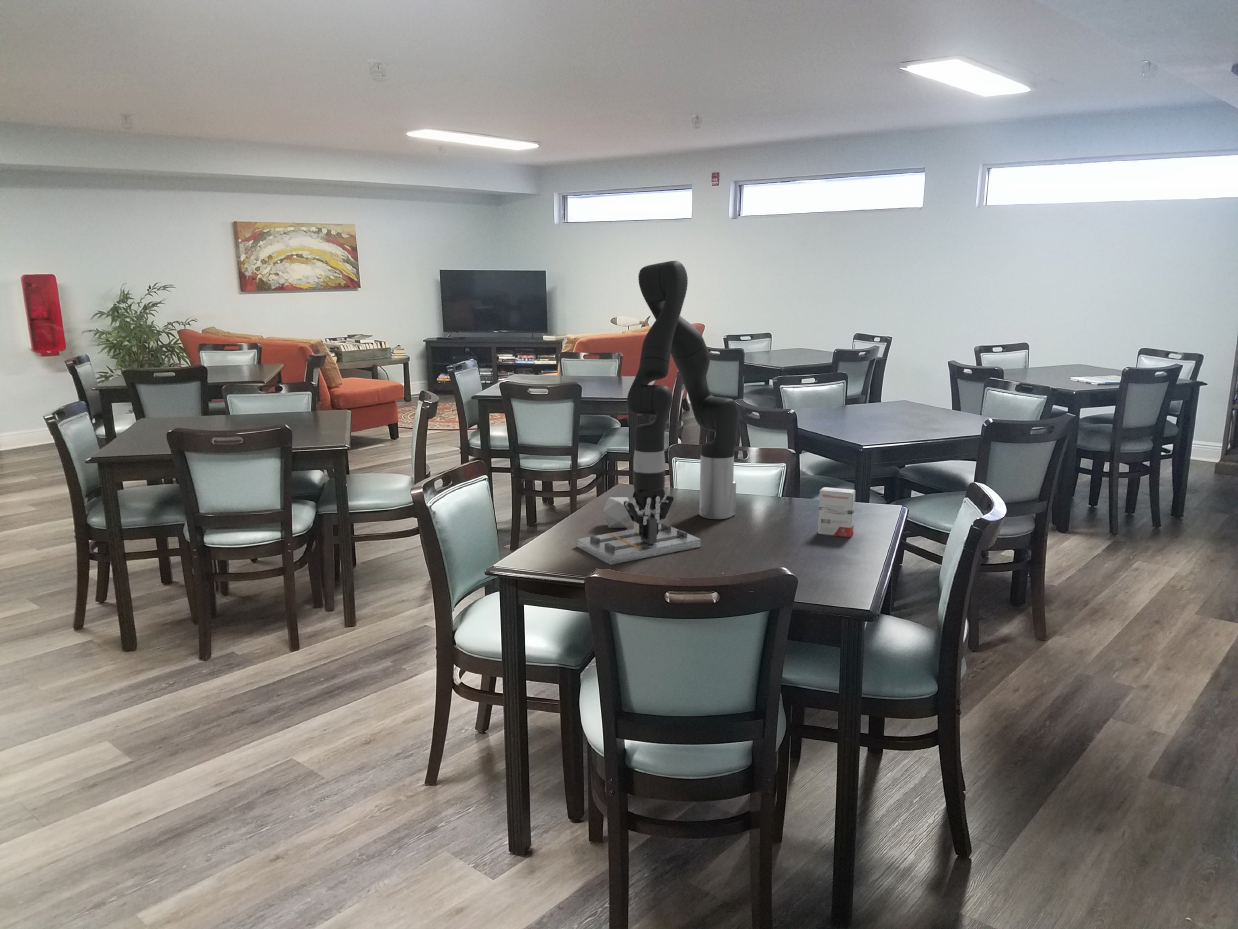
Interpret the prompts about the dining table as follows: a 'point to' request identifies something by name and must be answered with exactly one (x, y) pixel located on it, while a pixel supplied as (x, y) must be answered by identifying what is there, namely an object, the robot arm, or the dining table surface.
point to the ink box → (836, 512)
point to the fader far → (636, 525)
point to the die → (616, 513)
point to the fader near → (651, 531)
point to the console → (637, 544)
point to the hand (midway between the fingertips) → (648, 537)
